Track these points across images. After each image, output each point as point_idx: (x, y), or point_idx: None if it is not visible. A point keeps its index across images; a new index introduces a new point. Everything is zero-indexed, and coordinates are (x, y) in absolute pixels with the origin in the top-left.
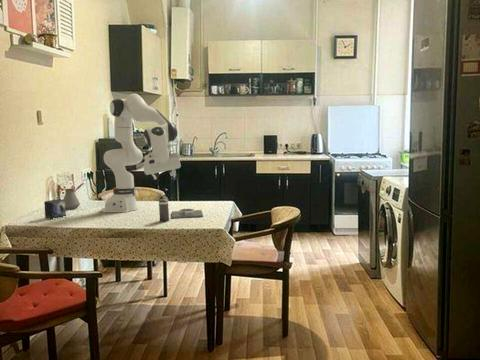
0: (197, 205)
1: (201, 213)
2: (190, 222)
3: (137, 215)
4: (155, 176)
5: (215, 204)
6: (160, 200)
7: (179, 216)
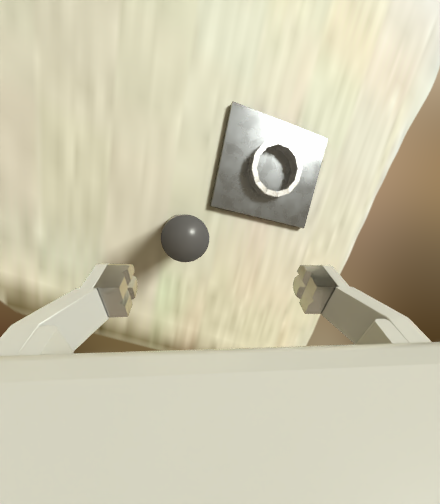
0: (351, 3)
1: (309, 197)
2: (249, 285)
3: (83, 63)
4: (112, 307)
5: (403, 32)
6: (168, 248)
7: (236, 211)
